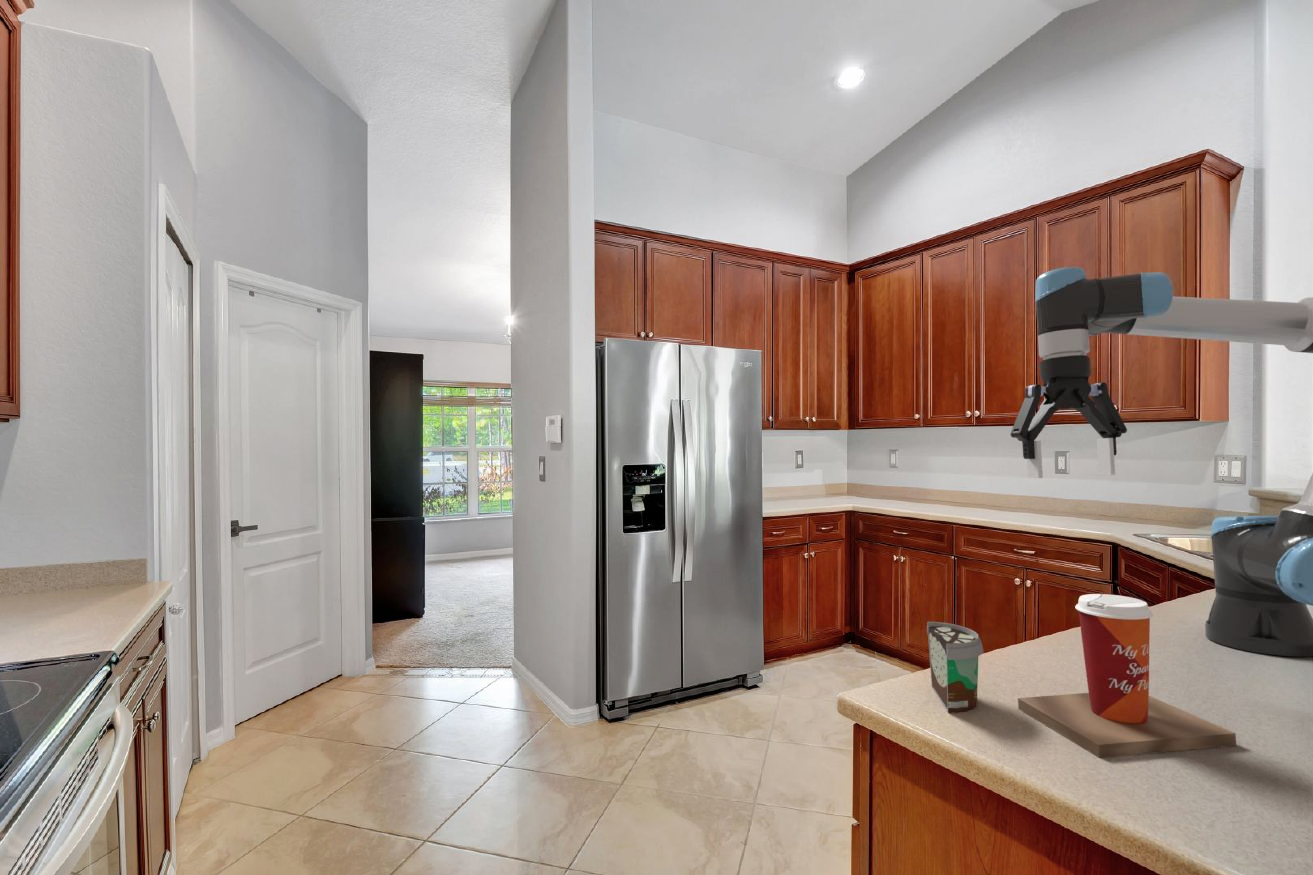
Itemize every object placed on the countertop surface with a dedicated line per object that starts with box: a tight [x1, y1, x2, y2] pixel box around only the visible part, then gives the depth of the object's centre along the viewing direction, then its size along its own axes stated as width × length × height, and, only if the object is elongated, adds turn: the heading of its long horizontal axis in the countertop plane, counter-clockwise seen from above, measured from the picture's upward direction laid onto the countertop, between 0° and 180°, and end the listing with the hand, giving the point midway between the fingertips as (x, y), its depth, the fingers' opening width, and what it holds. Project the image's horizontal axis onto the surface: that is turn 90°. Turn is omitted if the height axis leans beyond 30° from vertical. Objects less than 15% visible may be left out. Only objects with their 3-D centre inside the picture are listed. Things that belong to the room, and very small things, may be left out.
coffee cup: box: [1074, 593, 1154, 724], centre depth 80 cm, size 8×8×15 cm
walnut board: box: [1017, 692, 1237, 758], centre depth 80 cm, size 18×14×2 cm
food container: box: [926, 621, 985, 714], centre depth 89 cm, size 12×6×10 cm, turn 168°
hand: (1071, 476), depth 107 cm, fingers open, 13 cm apart
